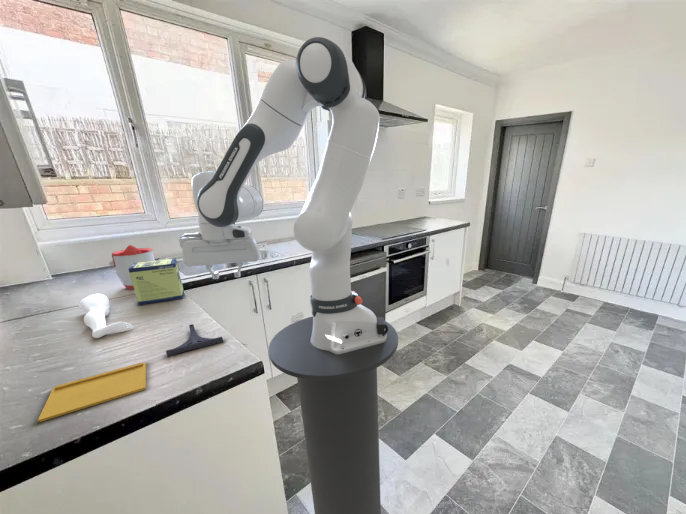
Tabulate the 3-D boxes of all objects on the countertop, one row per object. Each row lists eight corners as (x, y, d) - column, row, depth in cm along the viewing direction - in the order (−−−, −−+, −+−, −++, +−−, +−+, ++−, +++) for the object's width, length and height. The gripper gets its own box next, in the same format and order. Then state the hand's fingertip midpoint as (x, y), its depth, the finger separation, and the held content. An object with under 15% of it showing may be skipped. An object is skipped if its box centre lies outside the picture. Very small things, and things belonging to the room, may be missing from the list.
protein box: (183, 298, 131) (174, 263, 126) (138, 305, 124) (126, 268, 119) (184, 291, 140) (176, 257, 134) (142, 297, 133) (132, 262, 127)
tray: (146, 364, 83) (145, 361, 83) (145, 389, 73) (144, 385, 73) (53, 390, 74) (52, 386, 73) (38, 422, 64) (36, 418, 63)
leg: (108, 288, 123) (72, 295, 116) (129, 316, 102) (87, 327, 95) (113, 303, 126) (78, 311, 118) (135, 334, 105) (94, 346, 97)
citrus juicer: (116, 286, 148) (102, 245, 141) (159, 279, 158) (149, 240, 151) (116, 295, 136) (102, 250, 130) (163, 286, 147) (152, 244, 140)
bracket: (216, 325, 106) (215, 317, 105) (223, 342, 94) (221, 334, 93) (166, 337, 98) (164, 329, 98) (167, 357, 87) (164, 349, 86)
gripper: (173, 235, 83) (185, 284, 88) (254, 231, 88) (261, 277, 93) (181, 232, 89) (191, 277, 93) (256, 228, 94) (263, 271, 99)
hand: (227, 277), depth 93 cm, fingers open, 5 cm apart
